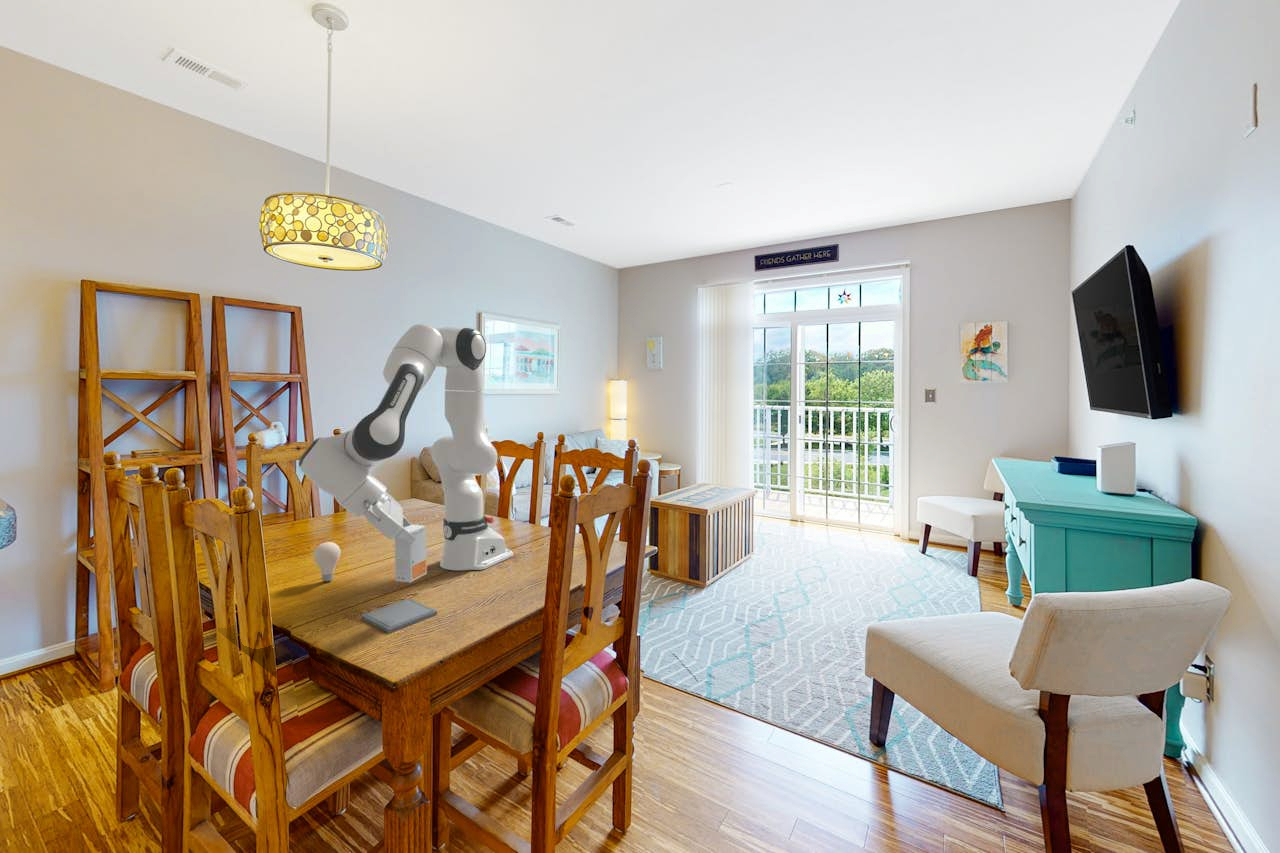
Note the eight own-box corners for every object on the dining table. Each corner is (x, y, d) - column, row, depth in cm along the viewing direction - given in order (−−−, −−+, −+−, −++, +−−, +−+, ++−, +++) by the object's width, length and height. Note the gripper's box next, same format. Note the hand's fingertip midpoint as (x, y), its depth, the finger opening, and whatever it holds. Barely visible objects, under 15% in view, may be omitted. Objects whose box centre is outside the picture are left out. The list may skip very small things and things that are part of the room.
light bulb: (321, 577, 147) (320, 538, 147) (346, 576, 148) (345, 538, 147) (308, 586, 141) (307, 546, 140) (334, 585, 141) (333, 546, 141)
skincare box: (411, 583, 120) (409, 532, 119) (395, 581, 121) (393, 531, 120) (428, 573, 126) (426, 525, 125) (412, 572, 127) (411, 524, 126)
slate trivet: (409, 601, 132) (409, 598, 132) (437, 614, 125) (437, 610, 125) (361, 618, 122) (361, 614, 122) (388, 633, 115) (388, 629, 115)
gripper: (374, 496, 110) (425, 537, 114) (379, 480, 128) (422, 516, 133) (350, 518, 108) (402, 560, 113) (358, 499, 127) (403, 535, 131)
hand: (413, 536), depth 123 cm, fingers closed on skincare box, 7 cm apart
